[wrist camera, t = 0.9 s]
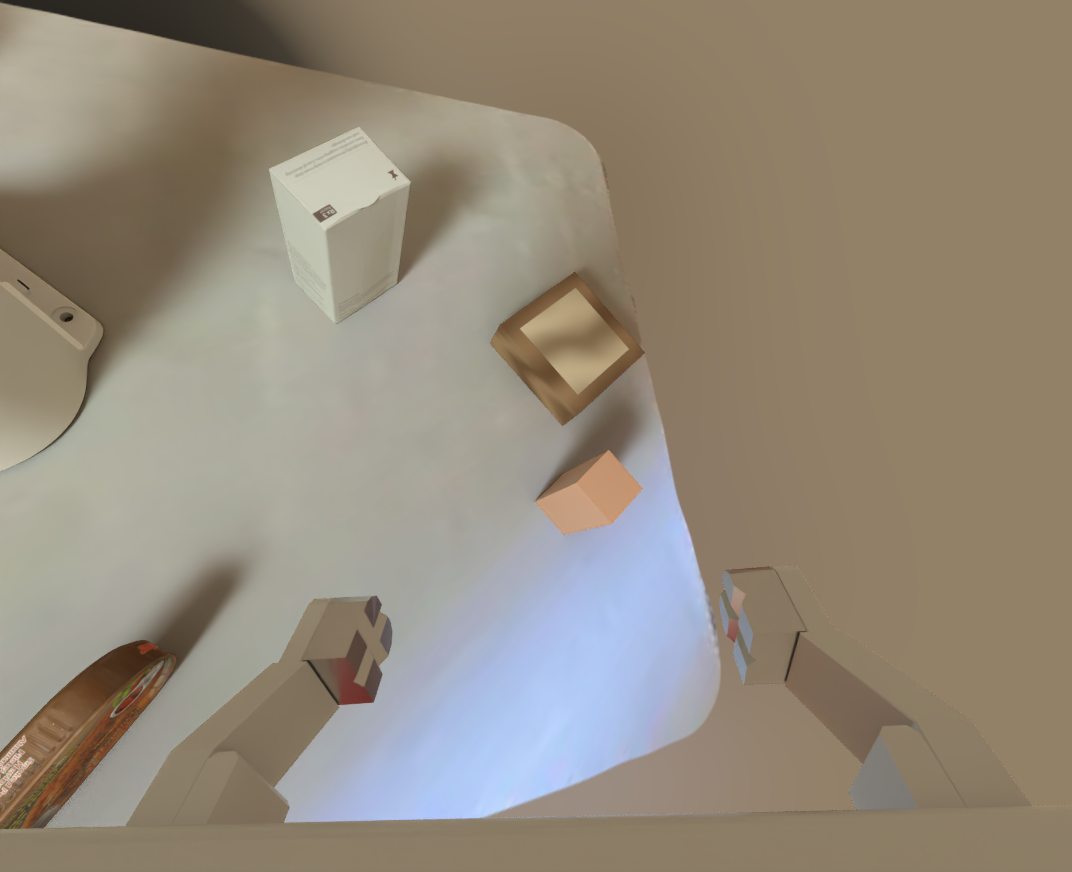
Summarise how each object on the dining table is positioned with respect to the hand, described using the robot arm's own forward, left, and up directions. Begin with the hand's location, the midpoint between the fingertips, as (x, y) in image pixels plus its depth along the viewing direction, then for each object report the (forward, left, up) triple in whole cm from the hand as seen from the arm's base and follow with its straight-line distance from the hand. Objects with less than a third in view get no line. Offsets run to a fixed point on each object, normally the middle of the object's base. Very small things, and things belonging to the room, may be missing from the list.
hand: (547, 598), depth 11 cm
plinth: (-7, +28, -34) cm, 45 cm away
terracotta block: (+5, +16, -34) cm, 38 cm away
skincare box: (-26, +14, -34) cm, 45 cm away
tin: (-7, -22, -34) cm, 41 cm away
